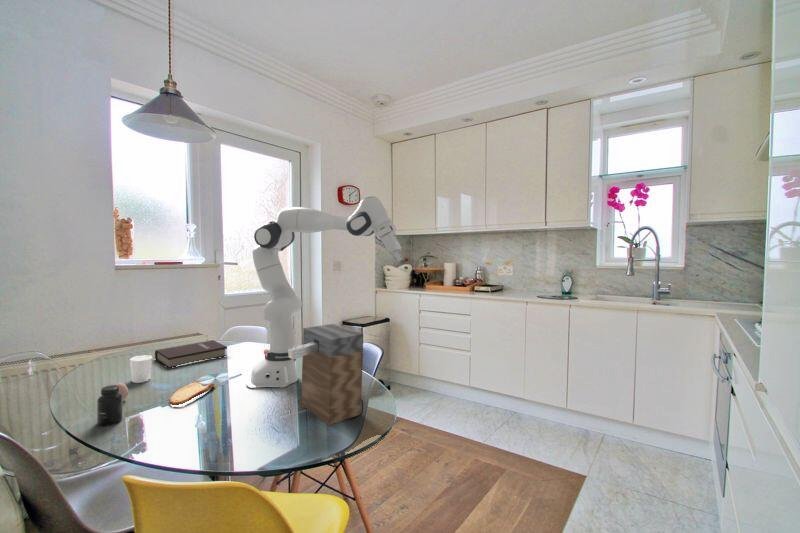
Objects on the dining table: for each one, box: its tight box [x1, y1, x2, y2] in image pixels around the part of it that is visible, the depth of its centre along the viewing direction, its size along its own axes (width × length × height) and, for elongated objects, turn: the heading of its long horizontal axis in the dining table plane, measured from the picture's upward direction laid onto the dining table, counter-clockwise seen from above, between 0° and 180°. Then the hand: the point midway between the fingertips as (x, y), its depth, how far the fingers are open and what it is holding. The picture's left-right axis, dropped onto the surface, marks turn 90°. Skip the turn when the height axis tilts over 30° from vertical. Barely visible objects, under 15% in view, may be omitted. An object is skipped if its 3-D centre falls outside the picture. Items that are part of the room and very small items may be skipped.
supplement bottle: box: [96, 384, 124, 427], centre depth 123 cm, size 7×7×12 cm
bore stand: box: [301, 323, 364, 426], centre depth 138 cm, size 14×20×31 cm
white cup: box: [129, 354, 153, 384], centre depth 159 cm, size 8×8×10 cm
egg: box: [114, 382, 129, 401], centre depth 138 cm, size 5×5×7 cm
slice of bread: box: [168, 381, 215, 405], centre depth 146 cm, size 18×18×4 cm
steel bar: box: [288, 341, 319, 360], centre depth 132 cm, size 18×3×3 cm, turn 132°
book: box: [154, 340, 228, 369], centre depth 191 cm, size 28×20×6 cm
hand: (401, 260), depth 153 cm, fingers open, 8 cm apart
